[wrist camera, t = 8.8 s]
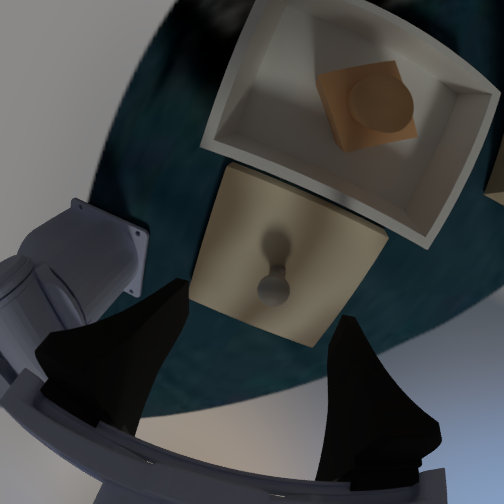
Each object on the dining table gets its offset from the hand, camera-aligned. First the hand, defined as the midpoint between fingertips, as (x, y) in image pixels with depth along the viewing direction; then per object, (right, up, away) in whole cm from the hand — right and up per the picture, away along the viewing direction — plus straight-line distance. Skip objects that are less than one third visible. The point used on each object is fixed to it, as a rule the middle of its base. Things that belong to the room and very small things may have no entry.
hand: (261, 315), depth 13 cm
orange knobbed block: (+6, +12, +2) cm, 14 cm away
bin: (+6, +12, +3) cm, 14 cm away
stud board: (+2, +2, +9) cm, 10 cm away
